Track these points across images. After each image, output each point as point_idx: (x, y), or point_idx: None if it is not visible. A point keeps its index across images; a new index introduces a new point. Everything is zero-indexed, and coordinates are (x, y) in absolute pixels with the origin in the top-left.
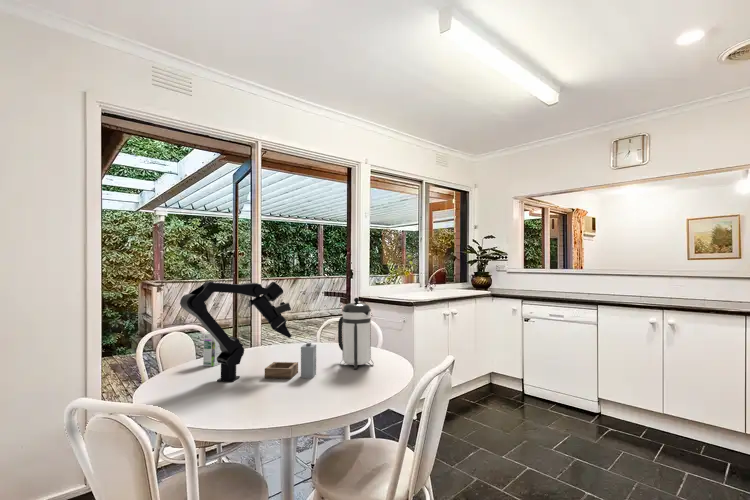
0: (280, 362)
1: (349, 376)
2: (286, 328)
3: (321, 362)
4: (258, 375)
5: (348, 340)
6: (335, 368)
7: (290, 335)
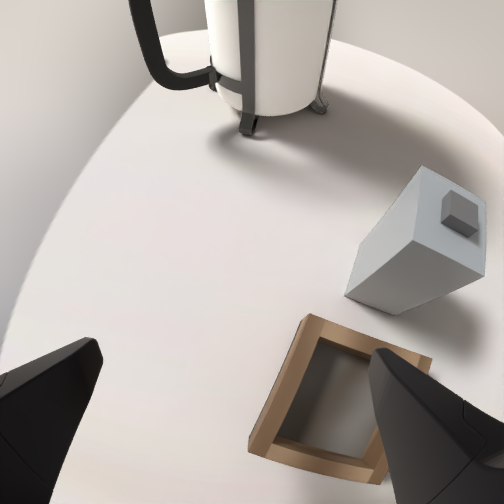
0: (274, 416)
1: (400, 149)
2: (485, 422)
3: (159, 191)
4: (291, 497)
5: (314, 33)
6: (285, 158)
7: (396, 359)
